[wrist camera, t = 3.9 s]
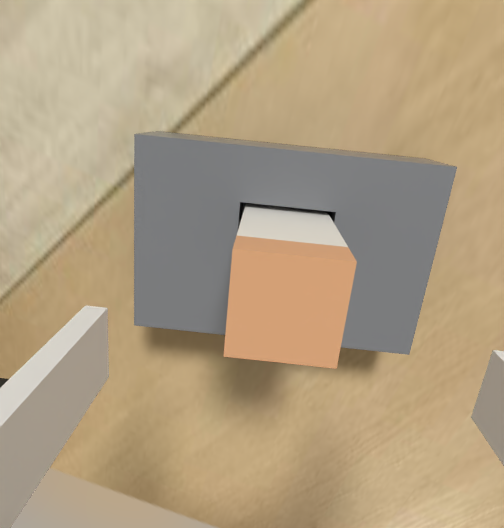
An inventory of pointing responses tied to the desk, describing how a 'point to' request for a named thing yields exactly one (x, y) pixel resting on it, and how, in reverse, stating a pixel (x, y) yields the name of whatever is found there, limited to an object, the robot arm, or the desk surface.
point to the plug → (288, 287)
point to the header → (287, 195)
